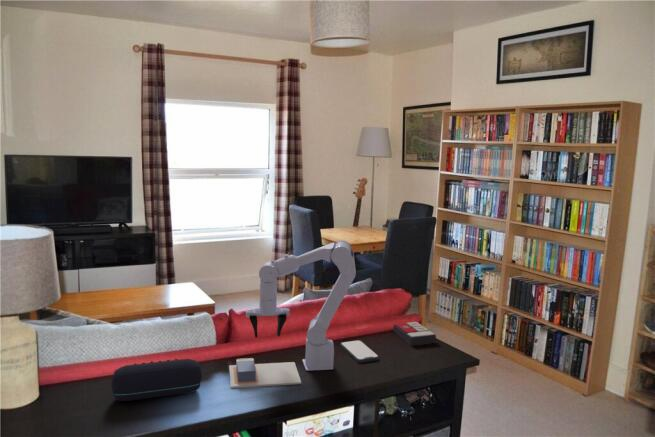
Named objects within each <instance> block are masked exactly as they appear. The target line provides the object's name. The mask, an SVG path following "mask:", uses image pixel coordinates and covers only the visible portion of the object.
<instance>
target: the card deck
mask: <svg viewBox="0 0 655 437" xmlns="http://www.w3.org/2000/svg"><path fill="white" fill-rule="evenodd" d="M235 363H236V364H235V365H236V371H237V378H238V382H245V381H256V369H255V364H256V363H255V359H254V358H253V357H250V358H248V357H247V358H236V361H235Z"/></svg>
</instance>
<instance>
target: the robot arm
mask: <svg viewBox="0 0 655 437" xmlns="http://www.w3.org/2000/svg"><path fill="white" fill-rule="evenodd" d="M354 252H355V251H354V250H353V248H352V245H351V244H350V243H349V242H348V241H346V240H339V241H336V242H329V243H328V244H325V245H323V246H321V247H317V248H315V249H313V250H309V251H307V252H305V253H303V254H300V255H298V256H297V255H294V254H290V255H289V254H288V253H286V254H284V256H283V257H281V258H279V259H276V260H275V259H272V260H271V261H266V262H265V263H263V264H262V266H261V267H260V269H259V272H258V277H259V279H260V284H259V308H253V309H246V310H245V317H246V318H249V322H250V323H251V326H252V328H253V332H254V337H255V339H256V338H258V317H269V316H270V317H271V316H272V317H273V316H275V317H276V316H277V326H276V328H277V329H276V335H277V337H280V336H281V332H282V329H283V327H284V325H285V323H286V321H287V317H288V316H289V317H290V312H291V311H290V308H285V307H284V308H282V307H277V304H278V303H277V300H278V284H277V282H278V280H277V279H278V278H281V277H284V276H287V275H289V274H292V273H293V274H294V273H295V272H297V271H299V269H300V267H302V266H304V265H308V264H311V263H314V262H318V261H321V260H324V261H326V262H328V263H331V261H332V262H333V264H334V265H335V266H336V267H337V268H338V271H339V275H338V278H337V280H336V281H335V283H334V284H333V286H332V289H331V291H330V293H329V294H328V296H327V298H326V300H325V301H324V303H323V306H322V307H321V308H320V311H319V312H318V313H317V314H316V316H315V317H314V318H312V319H311V320H310V322H309V326H308V330H307V333H306V338H305V357H304V358H303V359H301V360H302V364H303V366H304V369H305V371H308V372H309V371H325V370H326V371H328V370H334V359H335V358H334V357H335V346H334V341H333V340H332V339H328V338H327V336H326V334H327V331H328V328H329V327H330V324H331V321H332V319H333V318H334V316H335V313H336V312H337V310H338V309H339V306H340V305H341V302H342V301H343V300H344V297H345V296H346V294H347V293H348V290H349V289H350V287H351V285H352V283H353V282H354V280H355V278H356V275H357V273H356V271H357V270H356V263H355V253H354Z"/></svg>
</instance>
